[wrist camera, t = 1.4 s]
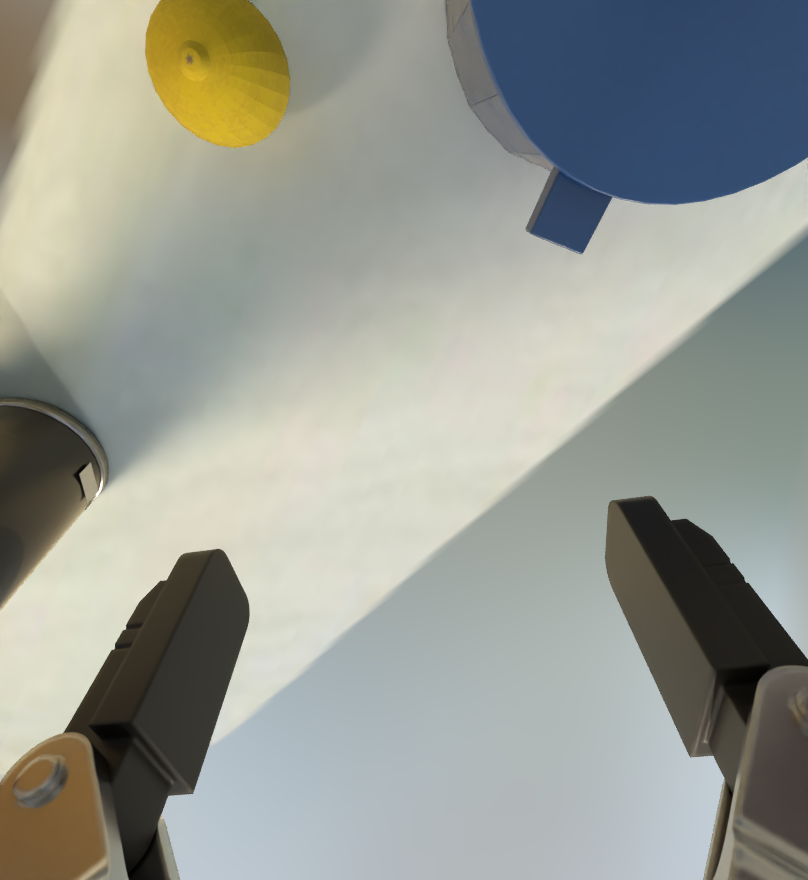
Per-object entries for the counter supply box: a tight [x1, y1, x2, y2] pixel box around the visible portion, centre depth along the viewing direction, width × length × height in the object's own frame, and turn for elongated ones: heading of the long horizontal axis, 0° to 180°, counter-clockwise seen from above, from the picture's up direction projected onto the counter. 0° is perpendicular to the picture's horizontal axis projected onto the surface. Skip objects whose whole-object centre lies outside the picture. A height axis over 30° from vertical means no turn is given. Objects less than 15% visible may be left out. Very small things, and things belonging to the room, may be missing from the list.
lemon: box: [145, 0, 290, 148], centre depth 21 cm, size 6×6×8 cm
